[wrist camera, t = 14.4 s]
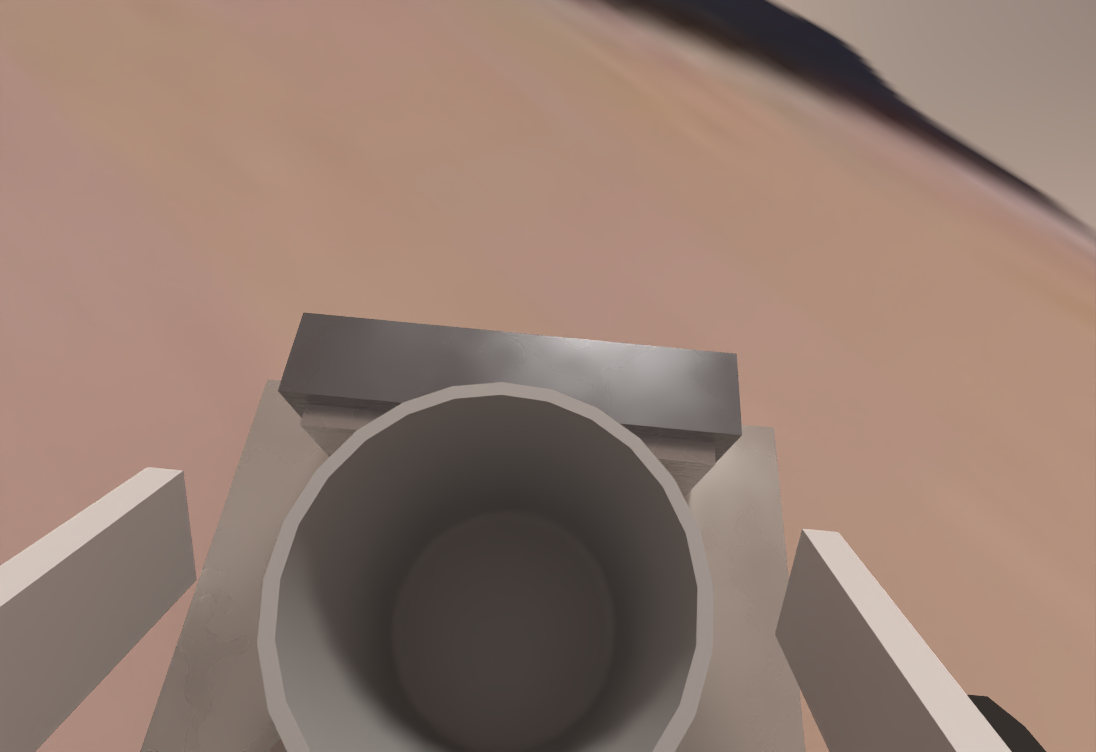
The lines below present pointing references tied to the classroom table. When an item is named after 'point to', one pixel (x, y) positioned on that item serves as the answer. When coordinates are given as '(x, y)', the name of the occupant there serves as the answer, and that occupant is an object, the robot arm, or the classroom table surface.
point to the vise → (477, 358)
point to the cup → (487, 586)
